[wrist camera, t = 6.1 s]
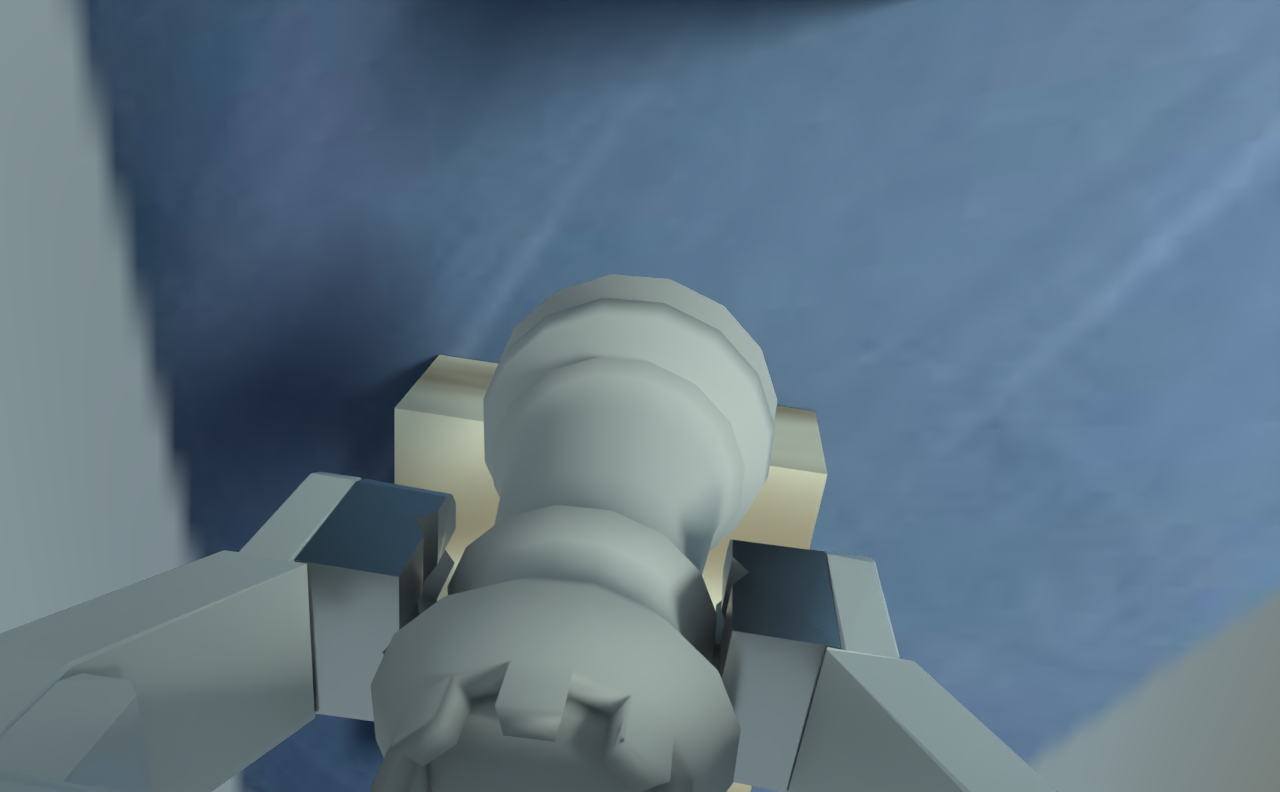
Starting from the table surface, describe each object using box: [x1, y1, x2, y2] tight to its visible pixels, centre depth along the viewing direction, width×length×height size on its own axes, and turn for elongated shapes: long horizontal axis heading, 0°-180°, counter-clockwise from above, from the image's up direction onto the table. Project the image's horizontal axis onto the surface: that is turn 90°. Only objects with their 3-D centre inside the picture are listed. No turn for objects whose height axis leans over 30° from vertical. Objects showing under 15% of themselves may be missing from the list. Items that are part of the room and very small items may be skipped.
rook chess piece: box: [371, 274, 777, 792], centre depth 10 cm, size 4×4×8 cm
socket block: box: [395, 355, 827, 792], centre depth 29 cm, size 16×12×4 cm
